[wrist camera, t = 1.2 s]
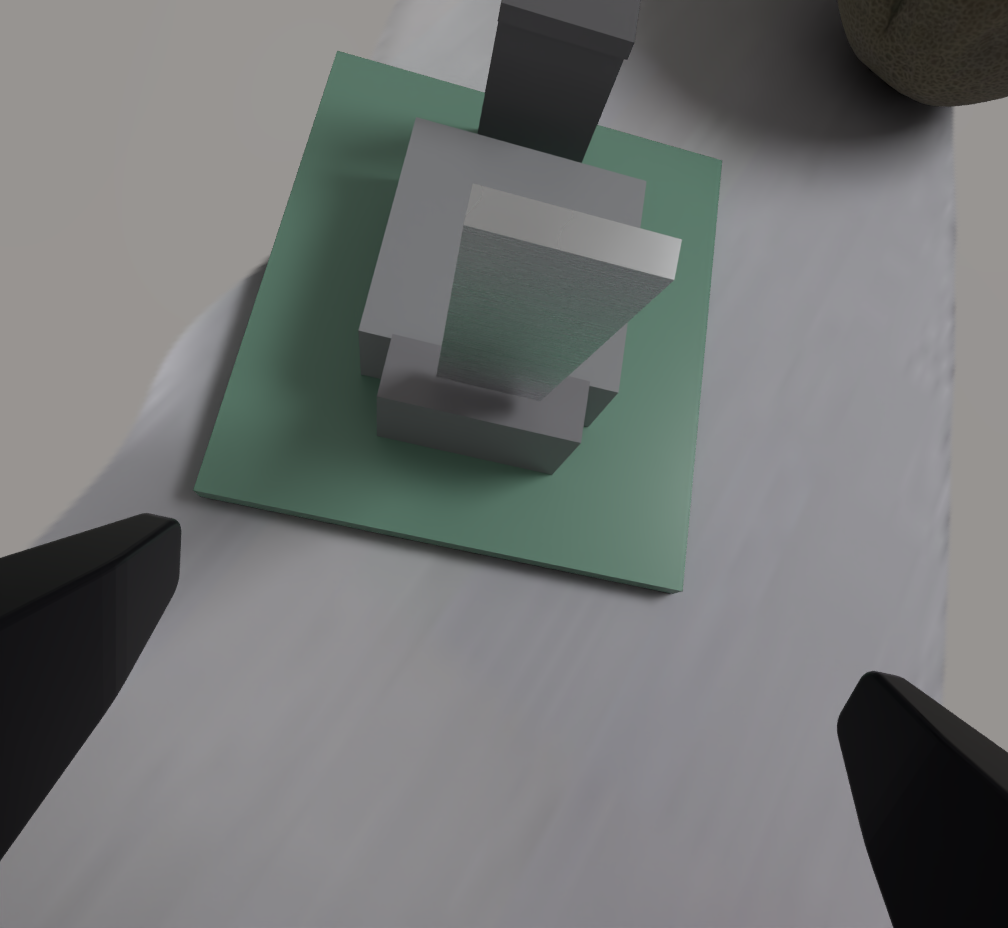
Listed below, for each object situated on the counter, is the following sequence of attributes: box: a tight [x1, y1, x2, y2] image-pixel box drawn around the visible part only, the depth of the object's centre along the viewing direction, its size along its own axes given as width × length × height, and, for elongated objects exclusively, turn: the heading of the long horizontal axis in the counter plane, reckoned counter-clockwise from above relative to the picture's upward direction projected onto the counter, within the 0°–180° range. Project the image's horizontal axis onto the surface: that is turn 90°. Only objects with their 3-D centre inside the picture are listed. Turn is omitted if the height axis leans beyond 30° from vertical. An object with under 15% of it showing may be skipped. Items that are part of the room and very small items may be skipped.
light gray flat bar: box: [436, 183, 682, 401], centre depth 14 cm, size 1×3×10 cm, turn 80°
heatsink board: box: [193, 0, 722, 594], centre depth 22 cm, size 18×16×8 cm
